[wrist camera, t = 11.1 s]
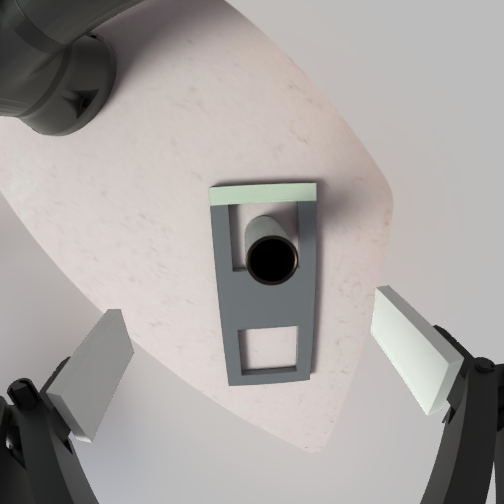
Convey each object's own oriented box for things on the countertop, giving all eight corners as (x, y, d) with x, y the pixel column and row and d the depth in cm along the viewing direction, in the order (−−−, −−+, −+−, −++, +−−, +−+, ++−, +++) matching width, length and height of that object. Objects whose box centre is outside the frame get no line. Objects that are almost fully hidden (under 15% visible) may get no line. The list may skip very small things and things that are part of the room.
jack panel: (210, 187, 32) (208, 187, 31) (313, 182, 32) (316, 183, 31) (229, 380, 40) (228, 386, 39) (308, 374, 40) (309, 380, 39)
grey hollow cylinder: (254, 209, 33) (259, 226, 23) (289, 225, 34) (308, 248, 24) (238, 244, 34) (236, 274, 24) (272, 258, 35) (284, 293, 25)
